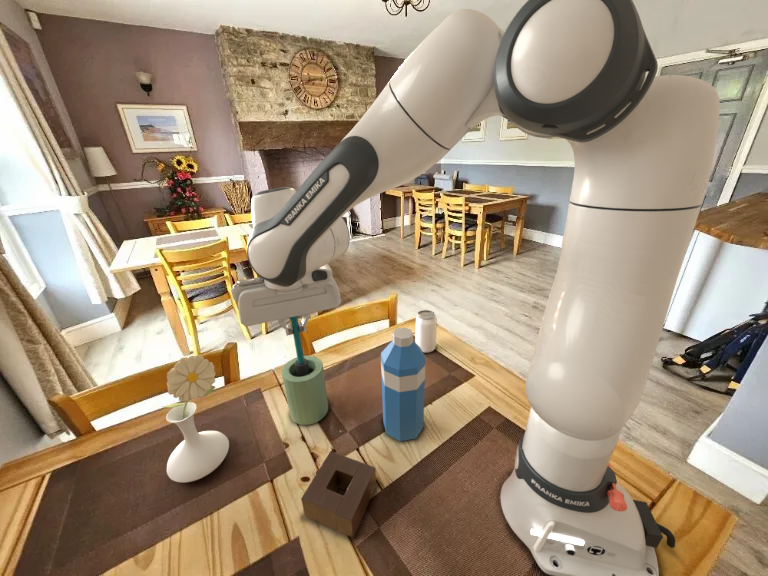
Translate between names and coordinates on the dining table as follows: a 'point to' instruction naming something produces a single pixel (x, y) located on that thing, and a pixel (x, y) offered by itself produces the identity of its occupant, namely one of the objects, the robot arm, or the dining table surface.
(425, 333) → the can
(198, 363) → the flower in vase
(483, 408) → the dining table surface
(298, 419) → the jar
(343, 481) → the brush holder
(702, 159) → the robot arm
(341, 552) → the dining table surface
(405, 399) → the water bottle
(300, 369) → the bottle brush
